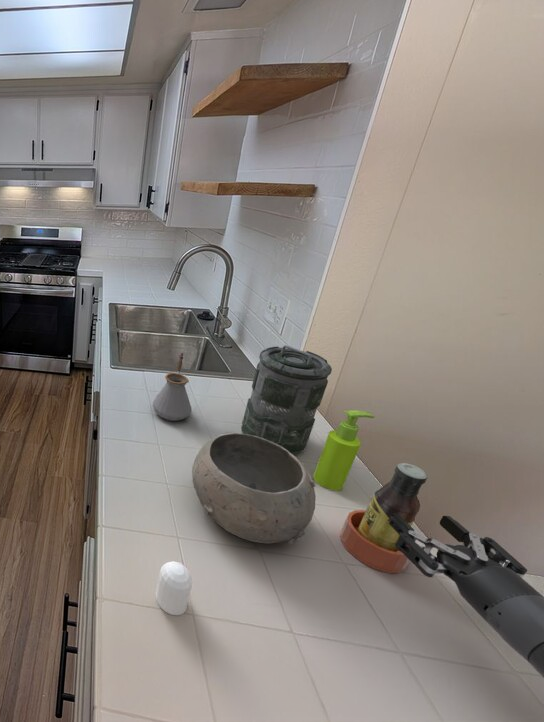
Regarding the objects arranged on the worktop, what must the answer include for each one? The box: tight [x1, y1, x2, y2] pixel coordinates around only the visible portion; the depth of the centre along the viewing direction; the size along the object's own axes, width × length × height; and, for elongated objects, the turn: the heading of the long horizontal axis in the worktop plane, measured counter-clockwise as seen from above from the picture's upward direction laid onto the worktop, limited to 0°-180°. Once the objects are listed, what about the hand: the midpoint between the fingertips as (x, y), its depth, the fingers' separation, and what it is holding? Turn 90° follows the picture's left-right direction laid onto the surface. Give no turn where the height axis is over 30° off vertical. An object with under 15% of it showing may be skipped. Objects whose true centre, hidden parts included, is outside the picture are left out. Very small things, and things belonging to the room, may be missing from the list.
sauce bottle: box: [357, 462, 428, 552], centre depth 72 cm, size 7×6×20 cm
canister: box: [240, 344, 333, 456], centre depth 103 cm, size 16×16×28 cm
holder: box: [339, 509, 411, 574], centre depth 76 cm, size 10×10×5 cm
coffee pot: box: [152, 352, 192, 422], centre depth 121 cm, size 21×12×15 cm, turn 155°
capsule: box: [154, 560, 193, 616], centre depth 66 cm, size 5×5×8 cm
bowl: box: [191, 432, 316, 544], centre depth 82 cm, size 23×23×15 cm
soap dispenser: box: [312, 409, 375, 492], centre depth 90 cm, size 6×7×20 cm
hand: (417, 517), depth 67 cm, fingers open, 8 cm apart
